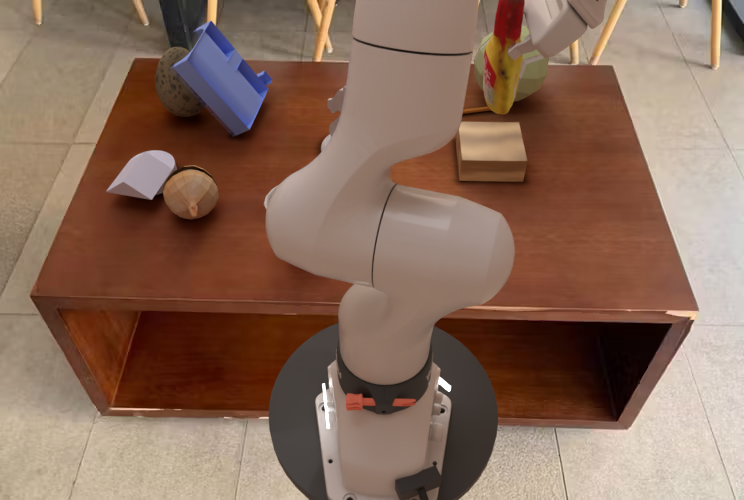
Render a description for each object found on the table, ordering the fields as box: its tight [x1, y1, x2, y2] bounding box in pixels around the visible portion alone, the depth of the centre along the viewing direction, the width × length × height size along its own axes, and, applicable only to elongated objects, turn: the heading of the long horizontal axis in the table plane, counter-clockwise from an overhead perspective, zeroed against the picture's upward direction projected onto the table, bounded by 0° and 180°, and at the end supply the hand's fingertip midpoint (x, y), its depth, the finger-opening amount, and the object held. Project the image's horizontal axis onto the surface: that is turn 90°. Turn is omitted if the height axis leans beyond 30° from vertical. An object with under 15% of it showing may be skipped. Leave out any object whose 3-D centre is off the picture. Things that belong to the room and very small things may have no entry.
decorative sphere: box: [473, 25, 550, 103], centre depth 141 cm, size 15×15×15 cm
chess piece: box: [320, 85, 346, 153], centre depth 129 cm, size 10×10×15 cm
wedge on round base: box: [105, 149, 178, 201], centre depth 124 cm, size 9×7×13 cm
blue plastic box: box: [171, 20, 273, 137], centre depth 136 cm, size 18×16×7 cm
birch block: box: [455, 121, 528, 183], centre depth 130 cm, size 12×12×5 cm
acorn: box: [161, 164, 220, 220], centre depth 118 cm, size 9×9×15 cm
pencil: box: [462, 105, 492, 115], centre depth 142 cm, size 1×1×19 cm
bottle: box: [482, 0, 525, 115], centre depth 112 cm, size 12×6×20 cm, turn 172°
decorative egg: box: [154, 46, 208, 118], centre depth 137 cm, size 11×11×15 cm
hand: (506, 39), depth 110 cm, fingers closed on bottle, 8 cm apart
